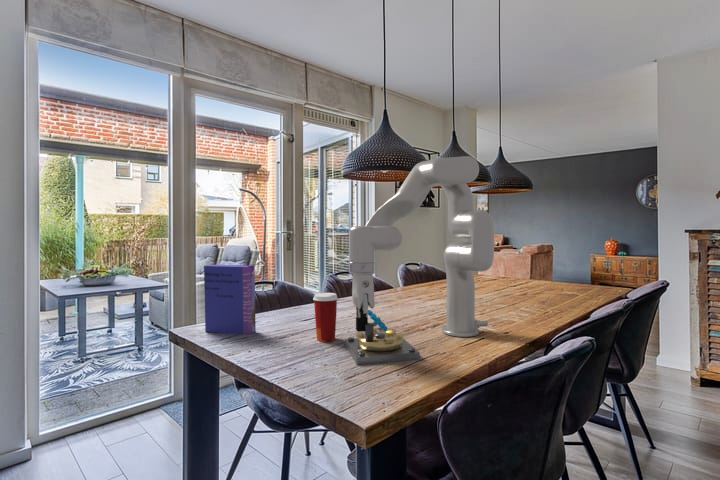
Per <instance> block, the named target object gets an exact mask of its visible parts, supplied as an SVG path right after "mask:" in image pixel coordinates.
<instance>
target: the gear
mask: <svg viewBox="0 0 720 480" xmlns="http://www.w3.org/2000/svg"><path fill="white" fill-rule="evenodd" d="M368 316H369V318H370V319H371V320H373V321H372V323H373V324H374V327H376V326H378V328H380V329H382V331H387V329H389V327H387V326H386V324H385V322H383V321H382V319H381V317H380V316H377V314H376V313H374V312H373V311H372V310H370V309H368Z"/></svg>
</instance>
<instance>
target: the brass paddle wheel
mask: <svg viewBox="0 0 720 480" xmlns="http://www.w3.org/2000/svg"><path fill="white" fill-rule="evenodd" d="M356 338H358V346H359V347H361V348H363V349H366V350H371V351H390V350H395V349H398V348H400V347H401V346H402V339H404V332H398V333H397V329H396V328H389V327H388V329H387V331H384V330H382V331H381V330H378V331H377V328H375V326H374V324H373V322H368V323H365V331H362V332H358V331H357V333H356Z"/></svg>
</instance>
